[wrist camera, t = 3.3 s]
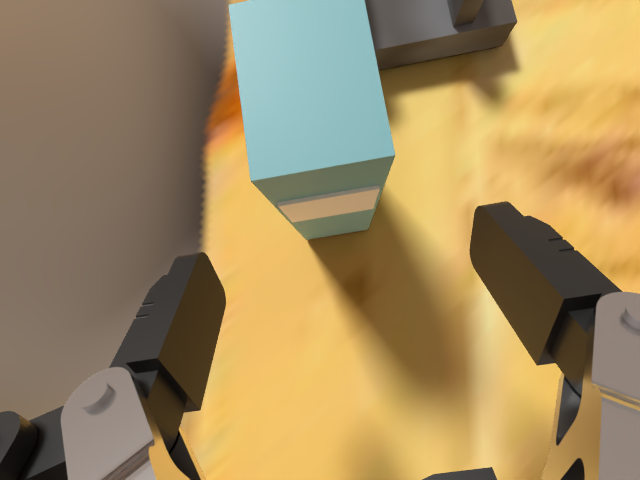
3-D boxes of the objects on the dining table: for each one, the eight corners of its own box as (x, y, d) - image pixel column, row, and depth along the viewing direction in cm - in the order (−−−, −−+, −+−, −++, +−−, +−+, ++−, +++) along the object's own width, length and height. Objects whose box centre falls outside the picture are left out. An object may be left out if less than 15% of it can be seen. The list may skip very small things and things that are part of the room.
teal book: (353, 146, 21) (359, -24, 10) (368, 231, 21) (396, 160, 9) (293, 157, 22) (228, 5, 10) (306, 242, 21) (251, 186, 9)
